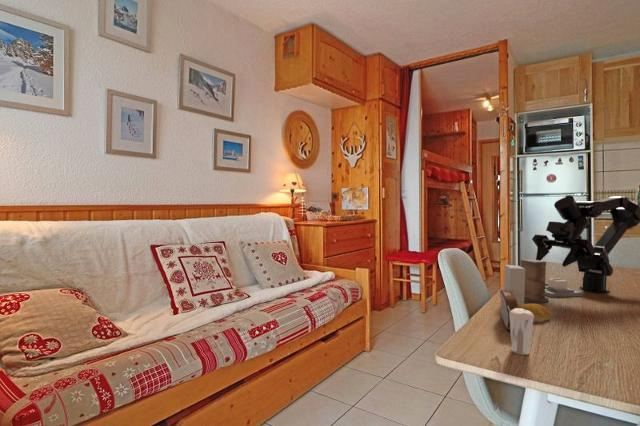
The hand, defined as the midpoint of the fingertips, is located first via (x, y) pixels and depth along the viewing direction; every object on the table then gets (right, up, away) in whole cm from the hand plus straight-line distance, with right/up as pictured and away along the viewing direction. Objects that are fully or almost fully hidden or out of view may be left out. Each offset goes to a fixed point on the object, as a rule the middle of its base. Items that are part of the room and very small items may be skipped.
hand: (549, 263), depth 123 cm
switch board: (+6, -11, +6) cm, 14 cm away
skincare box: (-17, -12, -10) cm, 23 cm away
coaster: (-7, -11, -3) cm, 14 cm away
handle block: (-7, -11, -3) cm, 13 cm away
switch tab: (+6, -10, +5) cm, 12 cm away
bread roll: (-19, -12, -22) cm, 31 cm away
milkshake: (-35, -13, -45) cm, 58 cm away
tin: (-28, -12, -28) cm, 41 cm away
